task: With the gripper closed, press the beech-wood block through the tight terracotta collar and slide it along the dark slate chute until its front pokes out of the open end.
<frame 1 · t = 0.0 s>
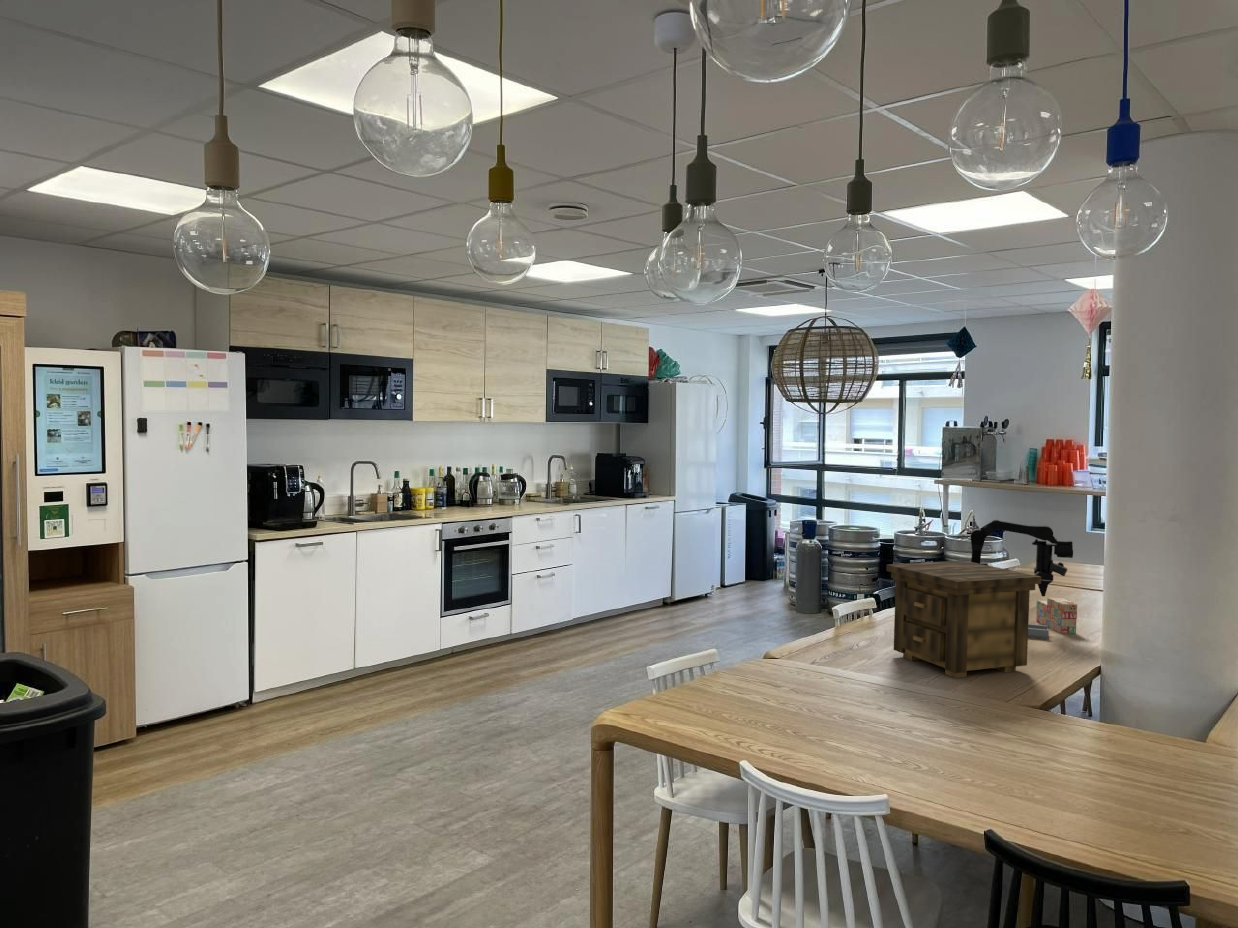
hand: (1042, 594, 347), 15 cm above the table, fingers open, 9 cm apart
block: (1006, 622, 342), point 4 cm above the table, slide at 0.0 cm
stack of blocks: (1055, 628, 353), on the table
wooden nightstand: (957, 664, 295), on the table
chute: (1019, 633, 340), on the table
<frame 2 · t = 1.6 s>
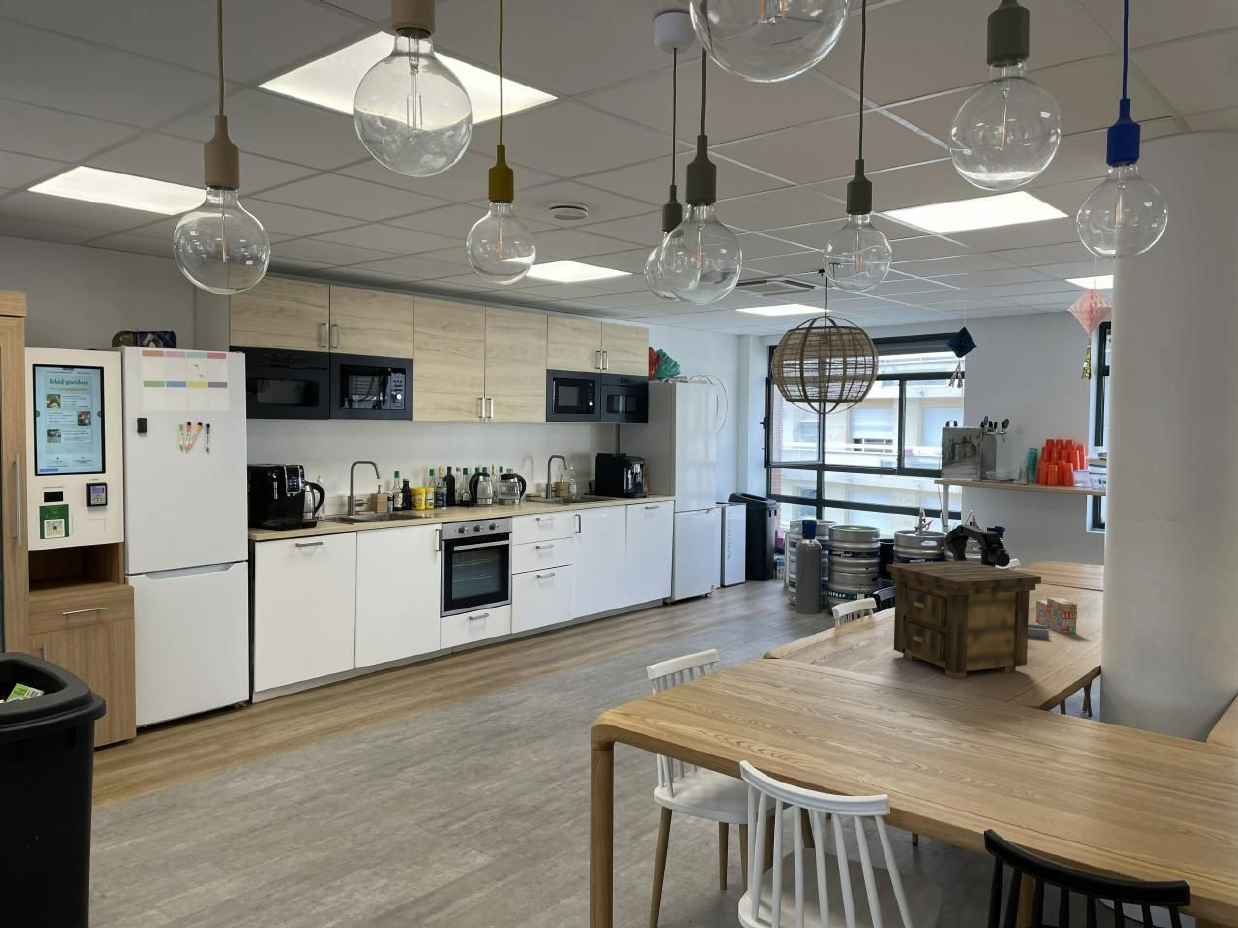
hand: (986, 601, 345), 12 cm above the table, fingers open, 4 cm apart
nothing on the table moved.
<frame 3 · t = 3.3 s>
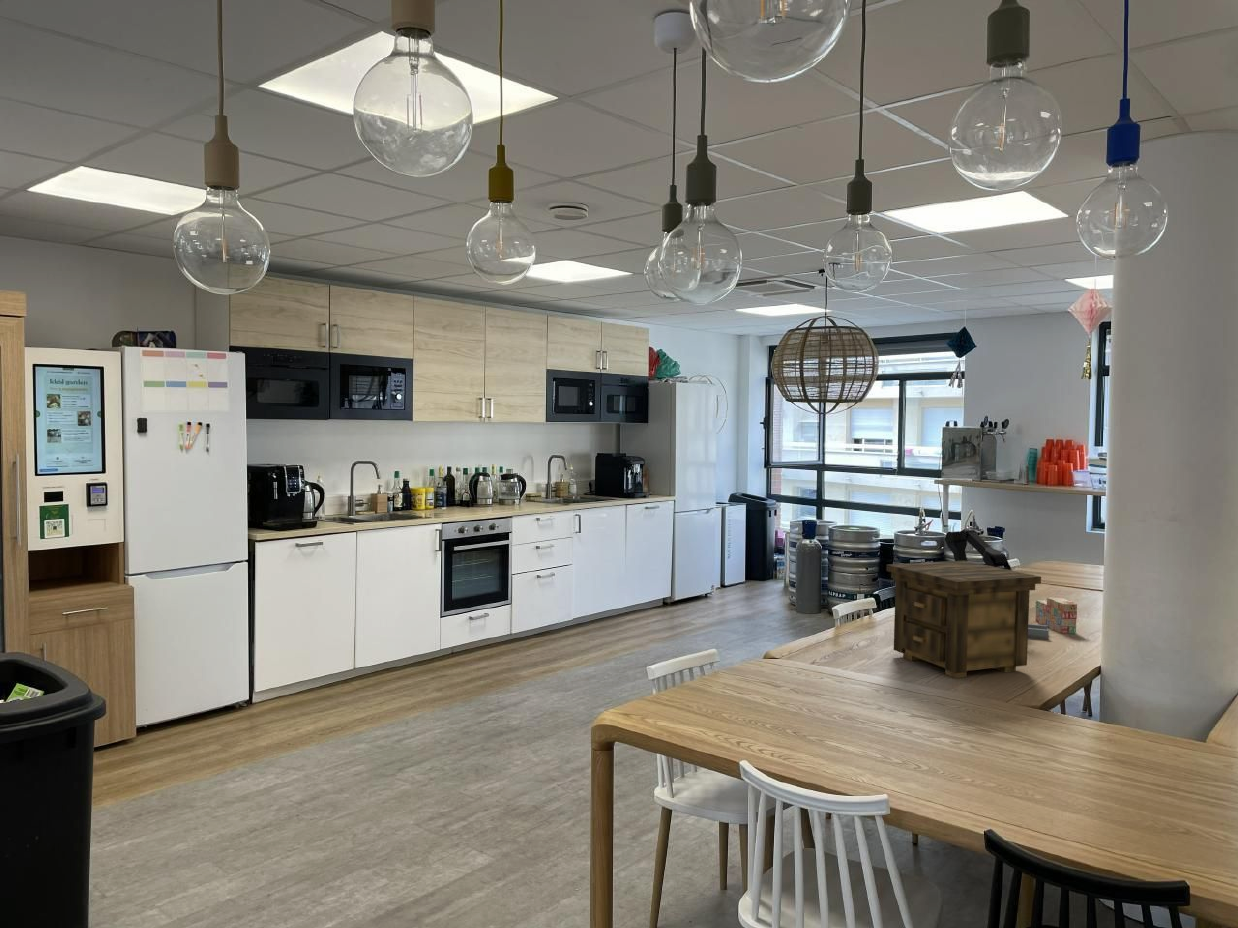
hand: (993, 622, 344), 4 cm above the table, fingers closed
block: (1007, 622, 342), point 4 cm above the table, slide at 0.4 cm, touching gripper
everything else where it was.
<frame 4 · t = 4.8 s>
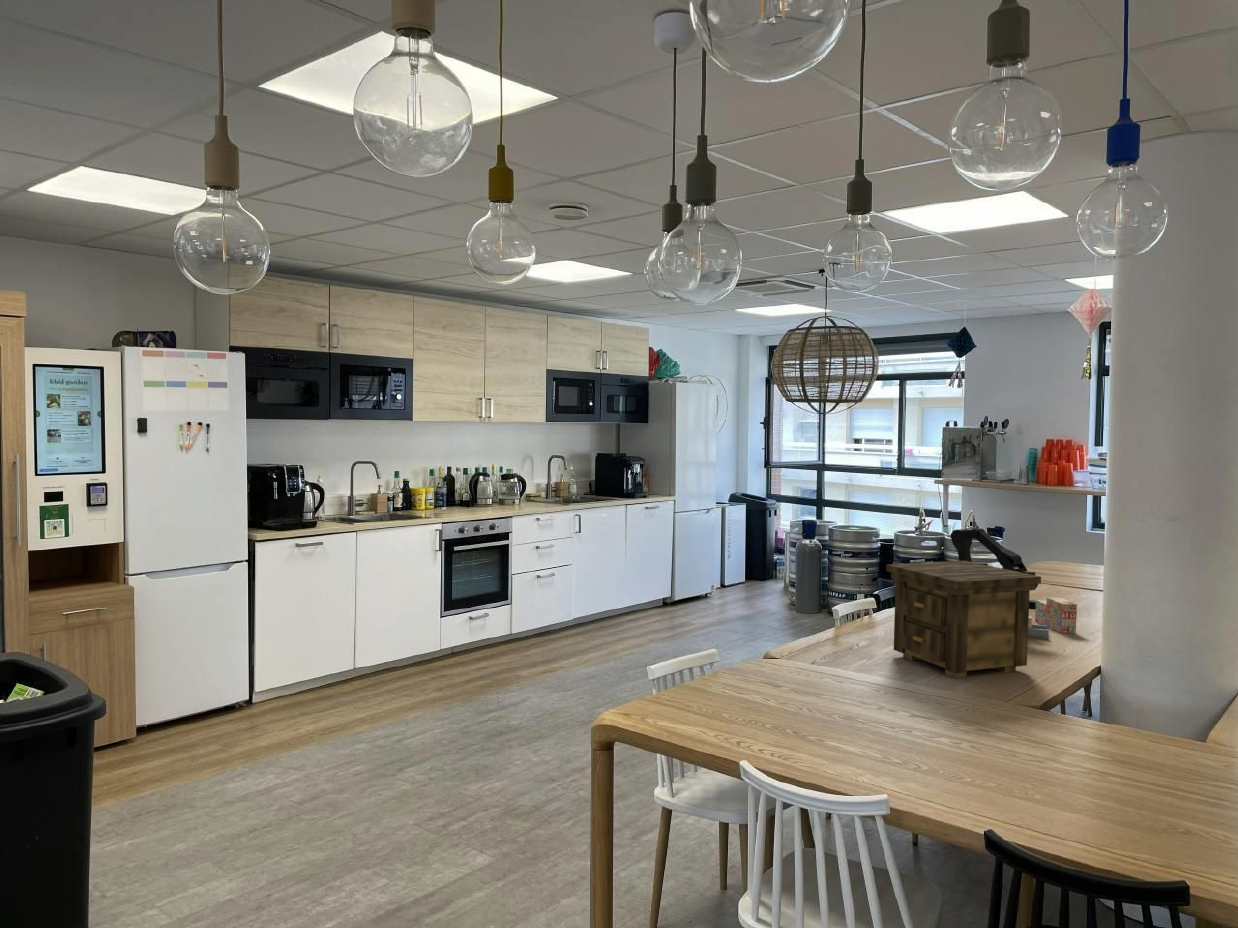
hand: (1009, 623, 341), 4 cm above the table, fingers closed
block: (1022, 624, 340), point 4 cm above the table, slide at 6.1 cm, touching gripper
everything else where it was.
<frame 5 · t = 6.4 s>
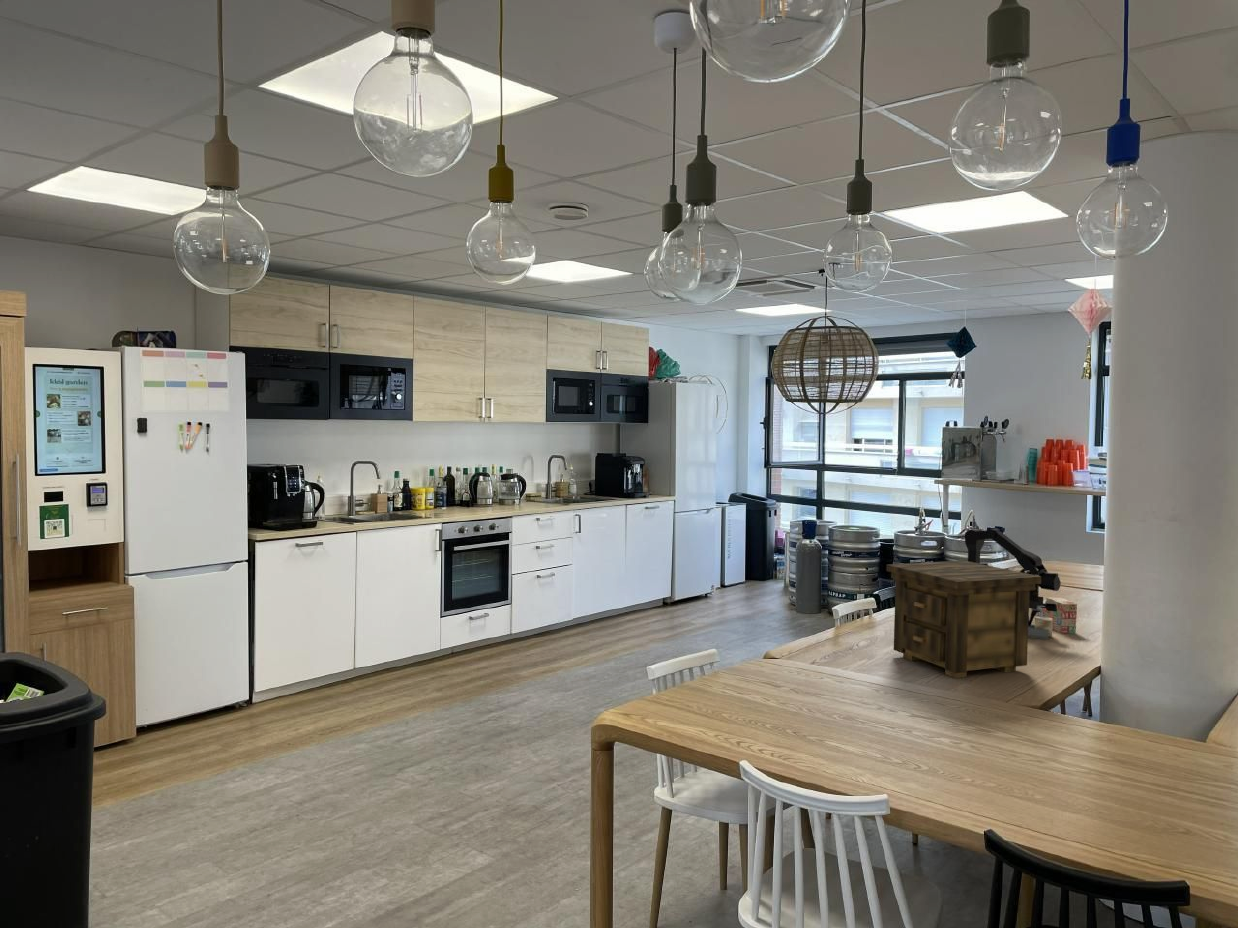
hand: (1029, 625, 339), 4 cm above the table, fingers closed
block: (1043, 626, 337), point 4 cm above the table, slide at 13.4 cm, touching gripper
everything else where it was.
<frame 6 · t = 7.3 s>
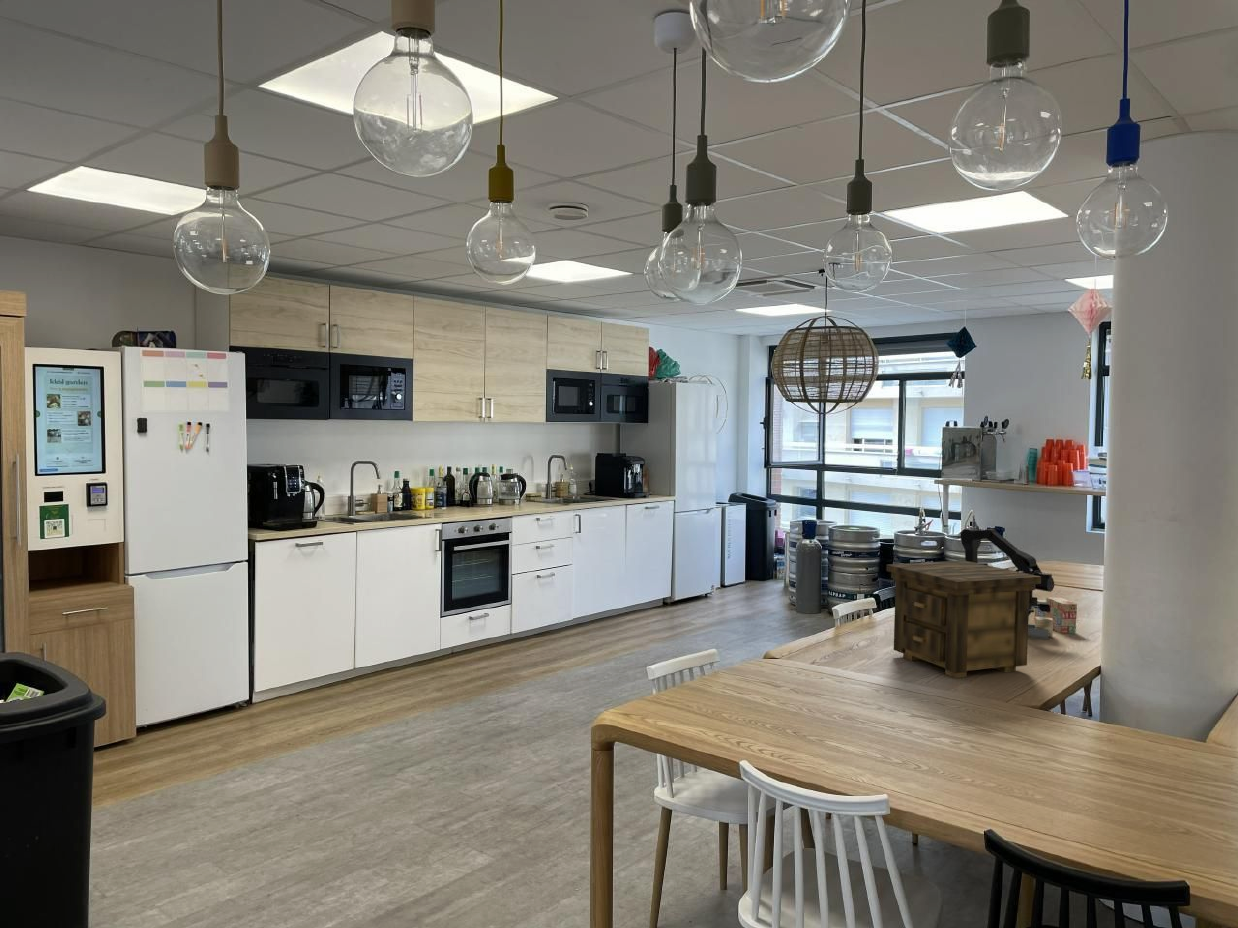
hand: (1022, 626, 340), 3 cm above the table, fingers closed
block: (1043, 626, 337), point 4 cm above the table, slide at 13.5 cm
everything else where it was.
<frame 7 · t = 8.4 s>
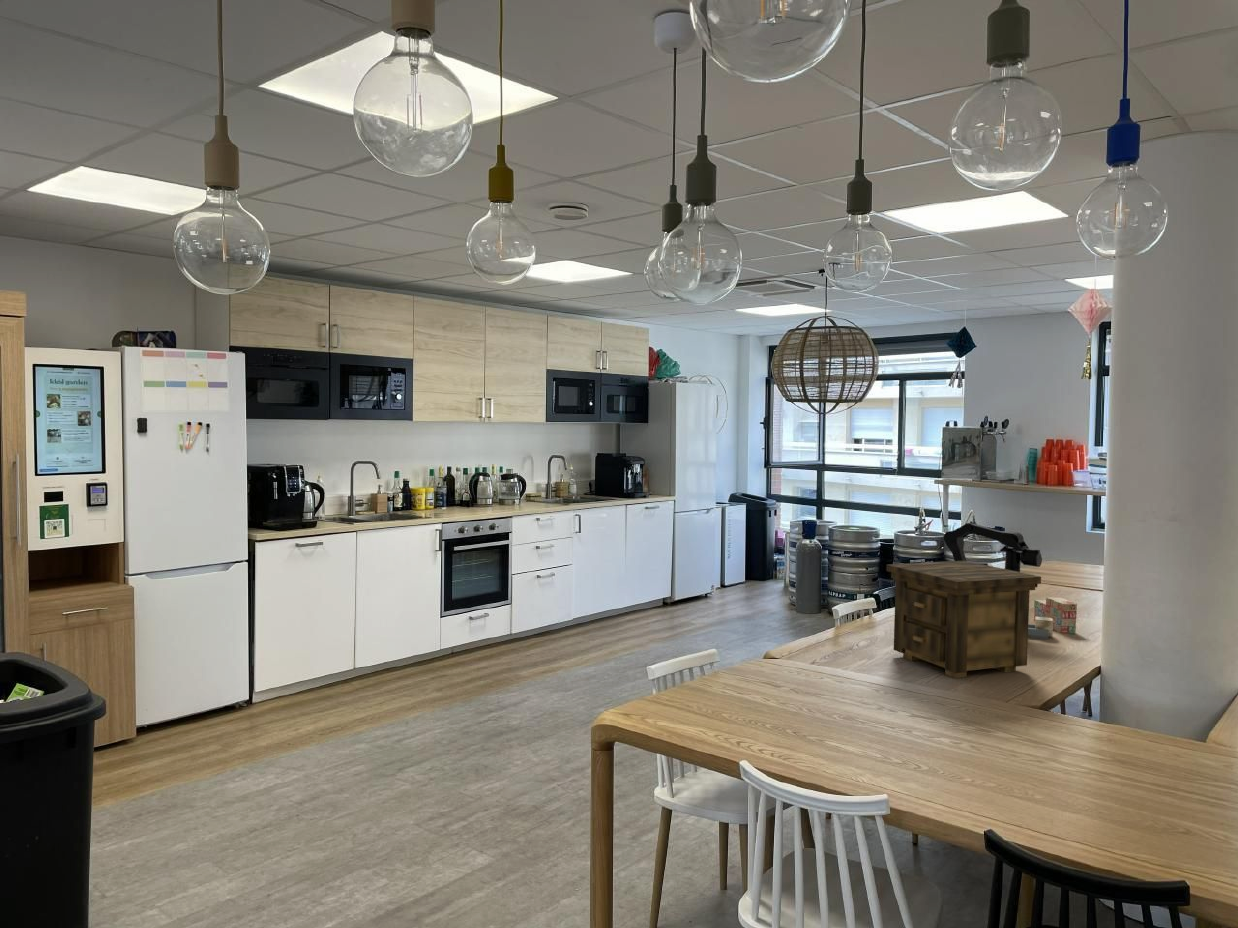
hand: (1010, 601, 346), 12 cm above the table, fingers closed
nothing on the table moved.
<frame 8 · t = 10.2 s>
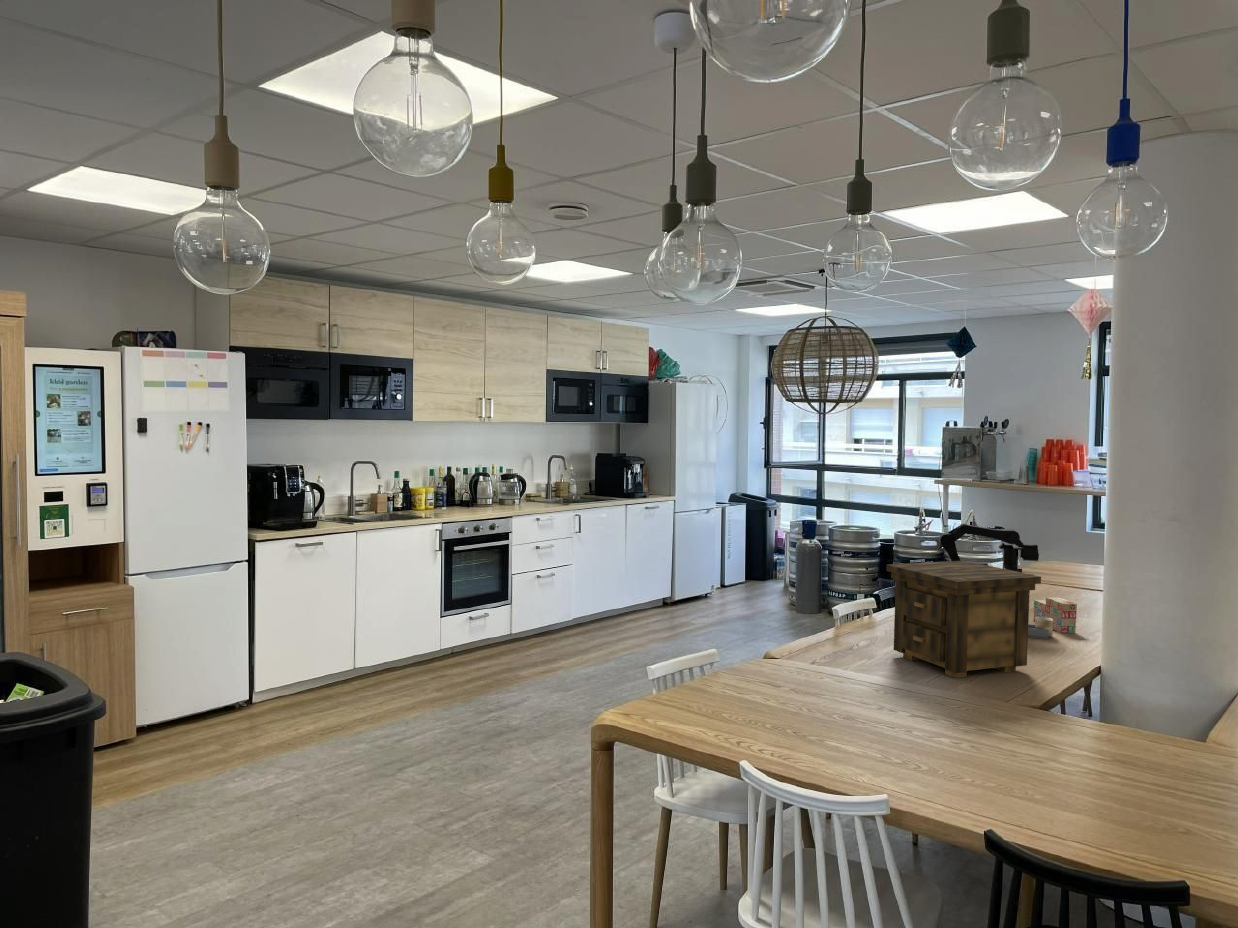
hand: (1009, 597, 354), 12 cm above the table, fingers closed
nothing on the table moved.
at the end: block slide at 13.5 cm; block touching nothing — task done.
